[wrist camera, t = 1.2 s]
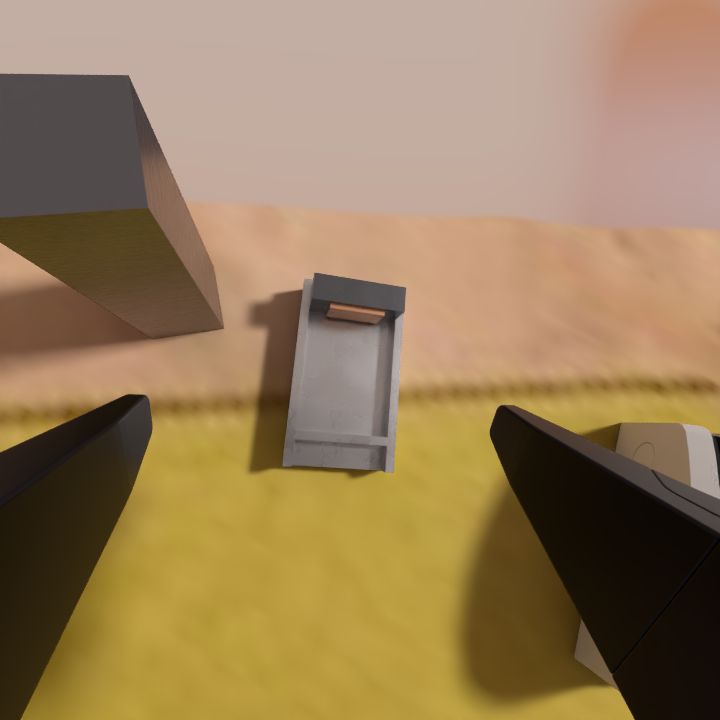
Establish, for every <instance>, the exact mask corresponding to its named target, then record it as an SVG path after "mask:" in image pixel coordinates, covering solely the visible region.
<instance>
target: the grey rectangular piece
mask: <svg viewBox="0 0 720 720" xmlns="http://www.w3.org/2000/svg"><path fill="white" fill-rule="evenodd" d="M312 281H313V282H312ZM405 295H406V288H405V287H399V286H393V285H387V284H380V283H374V282H368V281H362V280H356V279H350V278H344V277H338V276H332V275H326V274H320V273H314V278H313V280H310V279H304V284H303V291H302V299H301V308H300V316H299V325H298V333H297V342H296V350H295V359H294V367H293V376H292V384H291V392H290V401H289V409H288V418H287V426H286V435H285V443H284V452H283V460H282V466H286V467H292V465H298V466H315V467H332V468H348V469H365V470H381V471H384V472H387V473H394V458H395V442H396V426H397V410H398V394H399V378H400V362H401V346H402V330H403V314H404V311H405Z"/></svg>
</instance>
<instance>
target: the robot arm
mask: <svg viewBox="0 0 720 720" xmlns="http://www.w3.org/2000/svg"><path fill="white" fill-rule="evenodd" d="M151 434H152V417H151V410H150V402H149V399H148V397H147V396H146V395H136V394H128V395H125V396H122V397H120V398H118V399H116V400H114V401H111V402H109V403H107V404H105V405H103V406H101V407H98V408H96V409H94V410H92V411H90V412H87V413H85V414H83V415H81V416H79V417H77V418H74V419H72V420H70V421H68V422H66V423H63V424H61V425H59V426H57V427H55V428H53V429H50V430H48V431H46V432H44V433H42V434H40V435H37V436H35V437H33V438H31V439H29V440H26V441H24V442H22V443H20V444H18V445H16V446H13V447H11V448H9V449H7V450H5V451H2V452H0V720H21V718H22V716H23V713H24V711H25V709H26V707H27V705H28V703H29V701H30V699H31V697H32V695H33V693H34V691H35V689H36V687H37V685H38V683H39V681H40V679H41V677H42V675H43V673H44V670H45V668H46V666H47V664H48V662H49V660H50V658H51V656H52V654H53V652H54V650H55V648H56V646H57V644H58V642H59V640H60V638H61V636H62V634H63V632H64V630H65V627H66V625H67V623H68V621H69V619H70V617H71V615H72V613H73V611H74V609H75V607H76V605H77V603H78V601H79V599H80V597H81V595H82V593H83V591H84V589H85V587H86V584H87V582H88V580H89V578H90V576H91V574H92V572H93V570H94V568H95V566H96V564H97V562H98V560H99V558H100V556H101V554H102V552H103V550H104V548H105V546H106V544H107V542H108V539H109V537H110V535H111V533H112V531H113V529H114V527H115V525H116V523H117V521H118V519H119V517H120V515H121V513H122V511H123V509H124V507H125V505H126V503H127V500H128V498H129V496H130V494H131V492H132V489H133V486H134V484H135V481H136V478H137V475H138V472H139V469H140V466H141V463H142V460H143V457H144V455H145V452H146V449H147V446H148V443H149V440H150V437H151ZM490 437H491V440H492V443H493V445H494V447H495V450H496V452H497V455H498V457H499V460H500V462H501V464H502V467H503V469H504V472H505V474H506V477H507V479H508V481H509V483H510V485H511V487H512V489H513V491H514V493H515V495H516V497H517V499H518V501H519V503H520V505H521V506H522V508H523V510H524V512H525V514H526V516H527V518H528V520H529V521H530V523H531V525H532V527H533V529H534V531H535V533H536V535H537V537H538V538H539V540H540V542H541V544H542V546H543V548H544V550H545V552H546V553H547V555H548V557H549V559H550V561H551V563H552V565H553V567H554V568H555V570H556V572H557V574H558V576H559V578H560V580H561V582H562V583H563V585H564V587H565V589H566V591H567V593H568V595H569V597H570V598H571V600H572V602H573V604H574V606H575V608H576V610H577V612H578V613H579V615H580V617H581V619H582V621H583V623H584V625H585V627H586V628H587V630H588V632H589V634H590V636H591V638H592V640H593V642H594V643H595V645H596V647H597V649H598V651H599V653H600V655H601V657H602V658H603V660H604V662H605V664H606V666H607V668H608V670H609V672H610V673H611V674H612V678H613V680H614V682H615V683H616V685H617V687H618V689H619V691H620V693H621V695H622V697H623V698H624V700H625V702H626V704H627V706H628V708H629V710H630V712H631V713H632V715H633V717H634V719H635V720H720V499H718V498H716V497H713V496H711V495H709V494H707V493H704V492H702V491H700V490H697V489H695V488H693V487H691V486H688V485H686V484H684V483H682V482H680V481H677V480H675V479H673V478H671V477H668V476H666V475H664V474H662V473H660V472H658V471H655V470H653V469H651V470H650V468H649V467H647V466H645V465H642V464H640V463H638V462H636V461H634V460H632V459H629V458H627V457H625V456H623V455H621V454H619V453H616V452H614V451H612V450H610V449H608V448H606V447H603V446H601V445H599V444H597V443H595V442H593V441H590V440H588V439H586V438H584V437H582V436H580V435H577V434H575V433H573V432H571V431H569V430H567V429H564V428H562V427H560V426H558V425H556V424H554V423H552V422H549V421H547V420H545V419H543V418H541V417H539V416H536V415H534V414H532V413H530V412H528V411H526V410H523V409H521V408H519V407H517V406H514V405H501V406H499V407H498V408H497V411H496V413H495V416H494V419H493V422H492V425H491V428H490Z"/></svg>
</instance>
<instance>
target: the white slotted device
mask: <svg viewBox="0 0 720 720" xmlns="http://www.w3.org/2000/svg"><path fill="white" fill-rule="evenodd" d="M615 452H616V453H619V454H621V455H623V456H625V457H627V458H629V459H632V460H634V461H636V462H638V463H640V464H642V465H645V466H647V467H649V468H650V470H651V469H653V470H655V471H658V472H660V473H662V474H664V475H666V476H668V477H671V478H673V479H675V480H677V481H680V482H682V483H684V484H686V485H688V486H691V487H693V488H695V489H697V490H700V491H702V492H704V493H707V494H709V495H711V496H713V497H716V498H718V499H720V434H711V433H710V432H709V431H708V429H706V428H705V427H702V426H696V425H688V424H680V423H621V426H620V431H619V436H618V441H617V446H616V451H615ZM574 658H575V659H576V660H578V661H579V662H580V663H582V664H583V665H584V666H586V667H587V668H588V669H590V670H591V671H592V672H594V673H595V674H597V675H598V676H599V677H601V678H602V679H603V680H605V681H606V682H607V683H609V684H610V685H611V686H613V687H614V688H615V689H617V690H618V691H619V689H618V687H617V685H616V683H615V682H614V680H613V678H612V674H611V673H610V672H609V670H608V668H607V666H606V664H605V662H604V660H603V658H602V657H601V655H600V653H599V651H598V649H597V647H596V645H595V643H594V642H593V640H592V638H591V636H590V634H589V632H588V630H587V628H586V627H585V625H584V623H583V621H582V619H581V624H580V629H579V634H578V639H577V644H576V649H575V654H574Z"/></svg>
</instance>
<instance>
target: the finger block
mask: <svg viewBox="0 0 720 720" xmlns="http://www.w3.org/2000/svg"><path fill="white" fill-rule="evenodd" d="M0 243H2V244H3V245H5V246H7V247H8V248H10V249H11V250H13V251H15V252H16V253H18V254H19V255H21V256H22V257H24V258H26V259H27V260H29V261H30V262H32V263H34V264H35V265H37V266H38V267H40V268H41V269H43V270H45V271H46V272H48V273H49V274H51V275H53V276H54V277H56V278H57V279H59V280H60V281H62V282H64V283H65V284H67V285H68V286H70V287H72V288H73V289H75V290H76V291H78V292H79V293H81V294H83V295H84V296H86V297H87V298H89V299H91V300H92V301H94V302H95V303H97V304H98V305H100V306H102V307H103V308H105V309H106V310H108V311H110V312H111V313H113V314H114V315H116V316H117V317H119V318H121V319H122V320H124V321H125V322H127V323H129V324H130V325H132V326H133V327H135V328H136V329H138V330H140V331H141V332H143V333H144V334H146V335H148V336H149V337H151V338H152V339H156V338H163V337H169V336H176V335H183V334H190V333H197V332H203V331H210V330H217V329H224V325H223V319H222V313H221V307H220V301H219V295H218V289H217V283H216V277H215V271H214V267H213V264H212V262H211V260H210V258H209V255H208V253H207V251H206V248H205V246H204V244H203V242H202V239H201V237H200V235H199V233H198V230H197V228H196V226H195V224H194V221H193V219H192V217H191V215H190V212H189V210H188V208H187V206H186V203H185V201H184V199H183V197H182V194H181V192H180V190H179V188H178V186H177V183H176V181H175V179H174V176H173V174H172V172H171V170H170V168H169V165H168V163H167V161H166V158H165V156H164V154H163V152H162V149H161V147H160V145H159V143H158V141H157V138H156V136H155V134H154V131H153V129H152V127H151V125H150V122H149V120H148V118H147V116H146V113H145V111H144V109H143V107H142V104H141V102H140V100H139V98H138V95H137V93H136V91H135V89H134V86H133V84H132V82H131V79H130V77H129V76H127V75H125V76H124V75H56V74H55V75H54V74H0Z"/></svg>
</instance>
